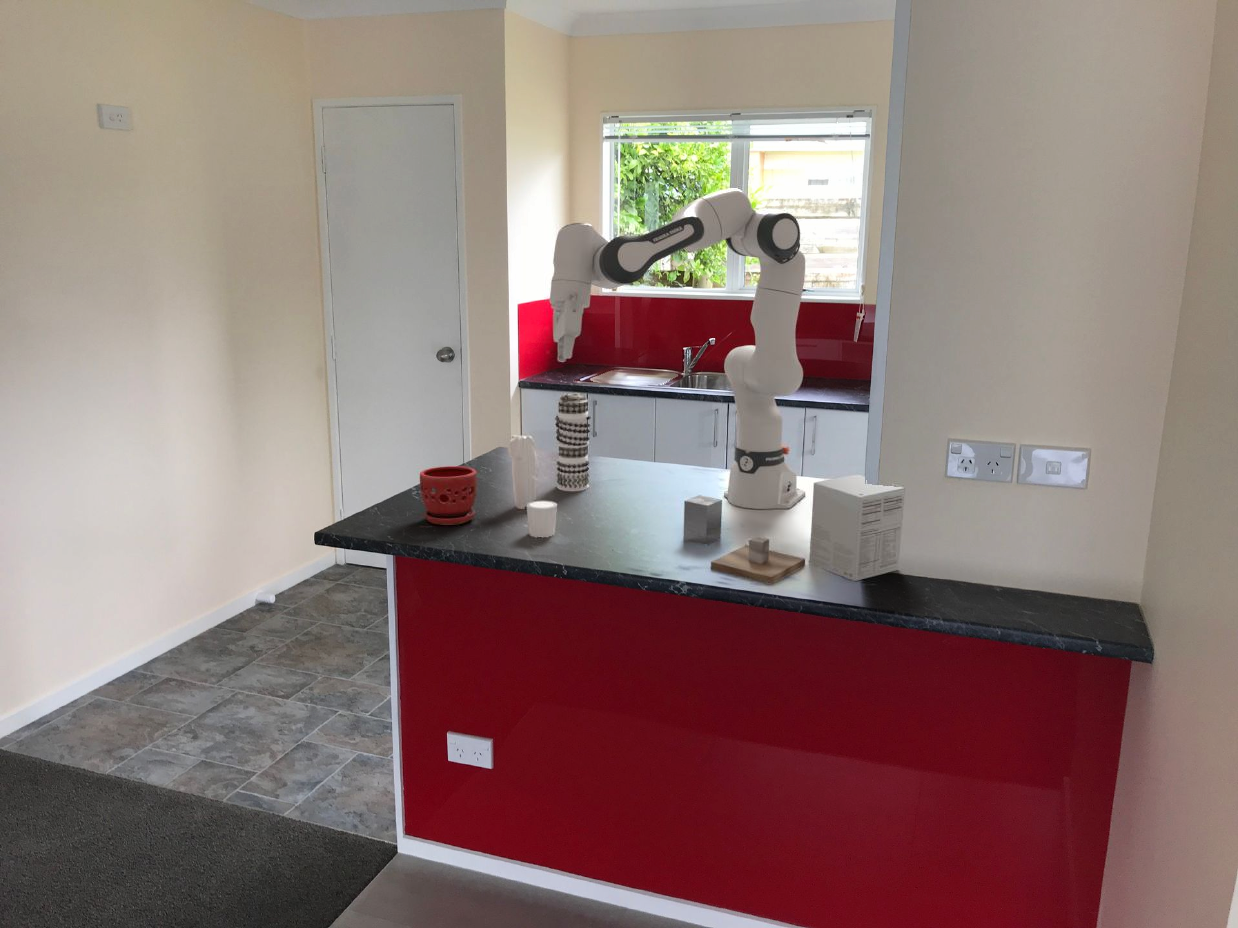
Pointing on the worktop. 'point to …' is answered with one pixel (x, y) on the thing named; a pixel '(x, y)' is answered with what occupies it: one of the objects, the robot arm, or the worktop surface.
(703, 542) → the grey rectangular block
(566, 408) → the decorative candle
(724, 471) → the worktop surface
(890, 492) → the supplement box
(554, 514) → the white short cylinder
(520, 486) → the white figurine
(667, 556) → the worktop surface
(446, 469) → the plant pot
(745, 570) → the tang block
